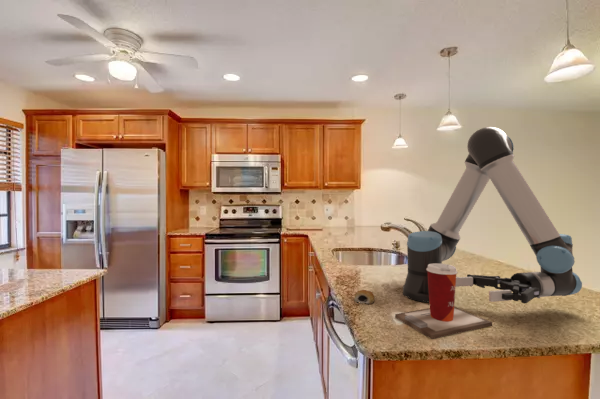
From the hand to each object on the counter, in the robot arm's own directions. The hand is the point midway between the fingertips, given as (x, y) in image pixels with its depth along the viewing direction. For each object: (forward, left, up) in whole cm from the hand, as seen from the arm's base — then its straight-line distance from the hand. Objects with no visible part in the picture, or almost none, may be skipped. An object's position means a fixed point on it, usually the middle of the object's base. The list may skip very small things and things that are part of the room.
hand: (470, 288), depth 83 cm
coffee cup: (-2, -9, -8) cm, 13 cm away
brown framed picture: (-2, -10, -9) cm, 13 cm away
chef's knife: (-29, +35, -10) cm, 46 cm away
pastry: (-25, -21, -9) cm, 34 cm away
